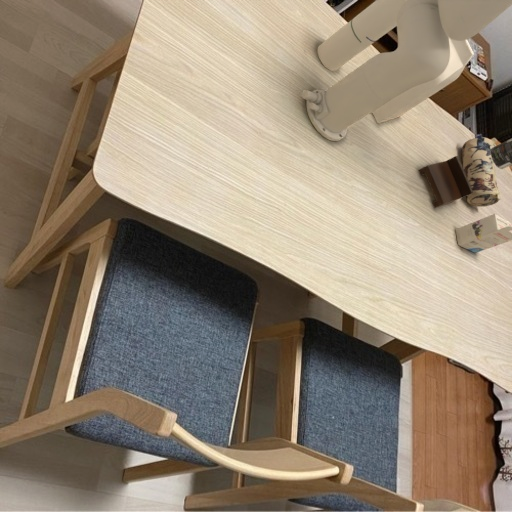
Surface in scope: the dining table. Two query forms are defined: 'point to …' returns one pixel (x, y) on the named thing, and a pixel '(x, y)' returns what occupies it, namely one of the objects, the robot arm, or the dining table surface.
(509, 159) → the pill bottle
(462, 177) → the shelf
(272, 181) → the dining table surface
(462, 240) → the ink box
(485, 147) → the pencil case
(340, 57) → the cylindrical container
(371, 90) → the robot arm
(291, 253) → the dining table surface
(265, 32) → the dining table surface
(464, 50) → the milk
